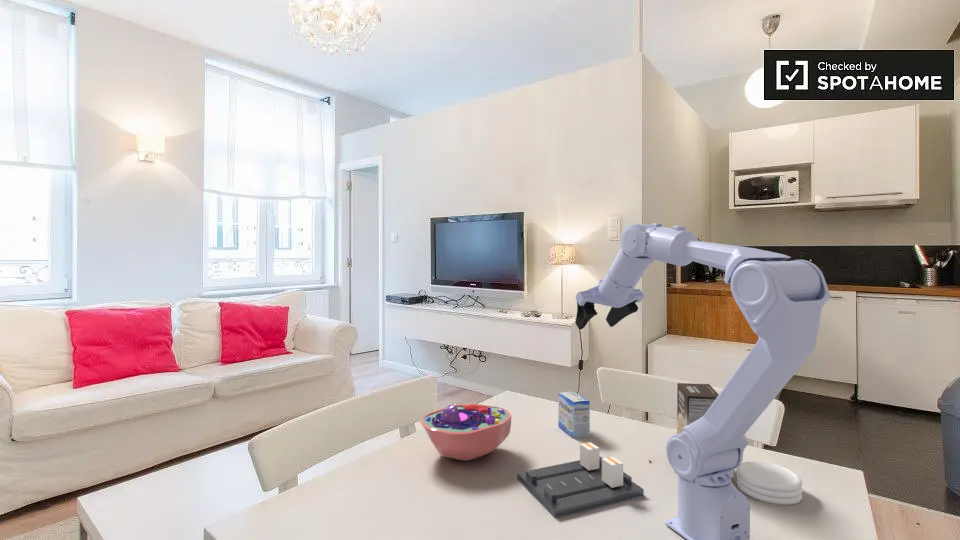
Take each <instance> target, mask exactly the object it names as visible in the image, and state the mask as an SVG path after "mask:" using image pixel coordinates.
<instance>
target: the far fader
mask: <svg viewBox="0 0 960 540" xmlns="http://www.w3.org/2000/svg"><path fill="white" fill-rule="evenodd" d="M579 452H580V453H579V460H580V464H581V465H582V466H583V467H585V468H586V469H587V470H589V471H590V470H594V469H599V456H600V447H599V446H597V445H596V444H594V443H592V442H591V441H590V442H583V443H580V444H579Z"/></svg>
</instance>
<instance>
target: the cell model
mask: <svg viewBox="0 0 960 540" xmlns="http://www.w3.org/2000/svg"><path fill="white" fill-rule="evenodd" d="M419 423H420V425H421V426H422V427H423V429H424V430H425V432H426V434H427V437H428V438H429V440H430V442H431V443H432V445H433V446H434V447H435V449H436V451H437V453H438V454H439V455H440V456H442V457H444V458H449V459H454V460H458V461H467V462H468V461H471V460H475V459H478V458H481V457H483V456H486V455H487V454H490V453H492V452H494V451H495V449H497V448H498V447H499V446H501V445H502V444H503V443H504V442H505V440H506V439H507V438H508V436H509V435H510V433H511V427H512V414H511V412H509V411H508V410H507V409H505V408H502V407H497V406H493V405H492V406H491V405H484V404H480V403H479V404H478V403H465V404H464V403H462V404H460V403H458V404H454V403H452V404H449V405H447V406H446V407H442V408H440V409H437V410H434V411H430V412H429V413H427V414H425V415H424V416H422V417H421V419H420V421H419Z"/></svg>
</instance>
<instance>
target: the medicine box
mask: <svg viewBox="0 0 960 540" xmlns="http://www.w3.org/2000/svg"><path fill="white" fill-rule="evenodd" d="M590 403H591V402H590V400H589V399H587V398H585V397H583V396H582V395H580V394H578V393H576V392H574V391H563V392H559V393H558V406H557V407H558V412H557V413H558V417H557V420H558V421H557V423H558V424H557V426H558V428H560V429H561V430H562V431H563V432H565V433H566V434H568V435H569V436H571V438H573V439H580V438H586V437H590V434H591V433H590V428H591V427H590V426H591V423H590V422H591V421H590V419H591V416H590V415H591V413H590V412H591V408H590V407H591V405H590Z"/></svg>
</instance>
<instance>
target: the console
mask: <svg viewBox="0 0 960 540" xmlns="http://www.w3.org/2000/svg"><path fill="white" fill-rule="evenodd" d="M602 458H603V457H602V456H600V455H599V469H594V470H590V471H589V470H587V469H586V468H585V467H583V466H582V465H581V464H580V459H579V460H574V461H573V460H572V461H569V462H563V463H559V464H554V465H550V466H549V465H548V466H544V467H539V468H533V469H531V470H524V471H519V472H516V479H517V481H519V483H520V484H522V486H523V487H524V488H525V489H526V490H527V491H528V492H529V493H530V494H531V495H532V496H533V497H534V498H535V499H536V500H537V502H539V503H540V504H541V506H543V507H544V508H545V509H546V510H547V511H548V513H549V514H551V515H552V516H553V518H555V519H557V518H560V517H565V516H568V515H572V514H576V513H580V512H584V511H589V510H591V509H593V510H594V509H596V508H600V507H605V506H609V505H612V504H617V503H619V502H624V501H628V500H629V501H630V500H632V499H637V498H640V497H643V496H645V495H644V493H645V492H644V488H643V487H642V486H640V485H638V484H636V483H635V482H634V481H633V480H632V479H633V477H632V476H631V475H629V474H627V473H626V472H624V471H623V485H622V486H618V487H614V488H612V487H610V486H609V485H608V484H606V483H605V482H604V481H602Z"/></svg>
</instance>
